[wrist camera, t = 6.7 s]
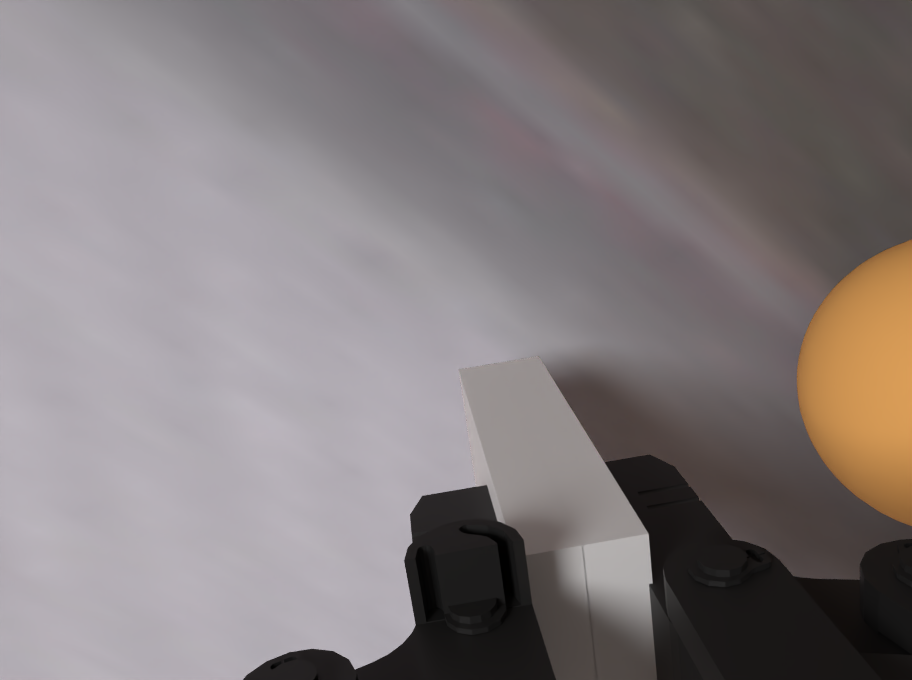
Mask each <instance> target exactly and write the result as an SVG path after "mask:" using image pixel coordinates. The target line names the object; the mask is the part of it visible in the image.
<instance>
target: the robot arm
mask: <svg viewBox="0 0 912 680" xmlns="http://www.w3.org/2000/svg"><path fill="white" fill-rule="evenodd" d="M459 376H460V383H461V390H462V396H463V403H464V410H465V417H466V423H467V430H468V437H469V444H470V451H471V457H472V464H473V471H474V478H475V484H476V487H472V488H466V489H461V490H455V491H449V492H443V493H437V494H431V495H426V496H422V497H421V499H420V500H419V502H418V503H417V505H416V506H415V508H414V510H413V511H412V513H411V514H410V519H411V531H412V542H413V543H412V544H411V545H410V546H409V547H408V549H407V553H406V556H405V560H404V562H405V567H406V573H407V578H408V584H409V590H410V595H411V601H412V606H413V612H414V617H415V623H416V626H415V628H414V630H413V632H412V634H411V635H410V636H409V637H408V638H407V639H406V641H405V642H404V643H403V644H402V645H401V646H399V647H398V648H397V649H395V650H394V651H393V652H391V653H390V654H388V655H386V656H384V657H382V658H380V659H378V660H376V661H375V662H372V663H370V664H368V665H365V666H363V667H360V668H358V669H356V670H355V669H354V668H353V666H352V664H351V662H350V661H349V659H347V658H345V657H343V656H341V655H339V654H337V653H336V652H334V651H327V650H318V649H309V650H302V651H296V652H289V653H287V654H284V655H282V656H279V657H277V658H274V659H272V660H269V661H267V662H265V663H264V664H262V665H261V666H259V667H258V668H256V669H255V670H254V671H252V672H251V673H249V674H248V675H247V676H246V677H245V678H244V679H243V680H912V539H906V540H898V541H893V542H888V543H883V544H880V545H878V546H876V547H874V548H873V549H871V550H869V551H867V552H866V553H865V555H864V557H863V559H862V561H861V563H860V580H839V579H812V578H800V577H794V576H793V575H792V574H791V573H790V572H789V571H788V570H787V568H786V567H785V566H784V565H783V564H782V563H781V561H780V560H779V559H778V558H776V557H775V556H774V555H772V554H771V553H770V552H768V551H767V550H766V549H764V548H761V547H759V546H756V545H753V544H751V543H748V542H745V541H737V540H732V539H731V537H730V536H729V535H728V534H727V532H726V531H725V530H724V528H723V527H722V526H721V525H720V523H719V522H718V521H717V520H716V518H715V517H714V516H713V515H712V513H711V512H710V511H709V510H708V508H707V507H706V506H705V505H704V503H703V502H702V501H699V498H698V496H697V495H696V493H695V492H694V491H693V490H692V488H691V487H688V483H687V482H686V481H685V479H684V478H683V477H682V476H681V474H680V473H679V472H678V471H677V469H676V468H675V467H674V466H672V465H670V464H668V463H666V462H664V461H662V460H660V459H658V458H655V457H653V456H651V455H645V456H639V457H633V458H627V459H621V460H616V461H610V462H604V461H603V459H602V458H601V456H600V454H599V453H598V451H597V450H596V448H595V446H594V445H593V443H592V442H591V440H590V438H589V437H588V435H587V433H586V432H585V430H584V429H583V427H582V425H581V424H580V422H579V421H578V419H577V417H576V416H575V414H574V412H573V411H572V409H571V408H570V406H569V404H568V403H567V401H566V400H565V398H564V396H563V395H562V393H561V391H560V390H559V388H558V387H557V385H556V383H555V382H554V380H553V378H552V377H551V375H550V374H549V372H548V370H547V369H546V367H545V366H544V364H543V362H542V361H541V359H540V357H539V356H537V357H531V358H525V359H519V360H513V361H507V362H501V363H495V364H488V365H482V366H476V367H470V368H464V369H459Z"/></svg>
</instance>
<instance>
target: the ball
mask: <svg viewBox="0 0 912 680" xmlns="http://www.w3.org/2000/svg"><path fill="white" fill-rule="evenodd" d="M797 391H798V400H799V406H800V411H801V415H802V418H803V421H804V424H805V427H806V430H807V432H808V435H809V437H810V439H811V442H812V443H813V445H814V447H815V449H816V450H817V452H818V454H819V455H820V457H821V458H822V460H823V462H824V463H825V464H826V466H827V467H828V468H829V469H830V470H831V472H832V473H833V474H834V475H835V476H836V478H837V479H838V480H839V481H840V482H841V483H842V484H843V485H844V486H845V487H846V488H848V489H849V490H850V491H851V492H852V493H853V494H854V495H855V496H857V497H858V498H860V499H861V500H863V501H864V502H866V503H867V504H869V505H870V506H871V507H873V508H874V509H876V510H877V511H879V512H881V513H883V514H885V515H887V516H889V517H891V518H893V519H895V520H897V521H899V522H902V523H904V524H907V525H910V526H912V240H909V241H907V242H904V243H901V244H899V245H896V246H893V247H891V248H889V249H887V250H884V251H882V252H881V253H879V254H877V255H875V256H873V257H872V258H870V259H868V260H867V261H865V262H864V263H862V264H860V265H859V266H858V267H857V268H855V269H854V270H853V271H852V272H850V273H849V274H848V275H847V276H846V277H845V278H843V279H842V280H841V281H840V282H839V283H838V284H837V285H836V286H835V287H834V288H833V289H832V291H831V292H830V293H829V294H828V296H827V297H826V298H825V300H824V301H823V302H822V304H821V305H820V306H819V308H818V310H817V311H816V313H815V314H814V316H813V318H812V320H811V322H810V324H809V326H808V329H807V331H806V334H805V336H804V340H803V343H802V346H801V350H800V355H799V360H798V367H797Z"/></svg>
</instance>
